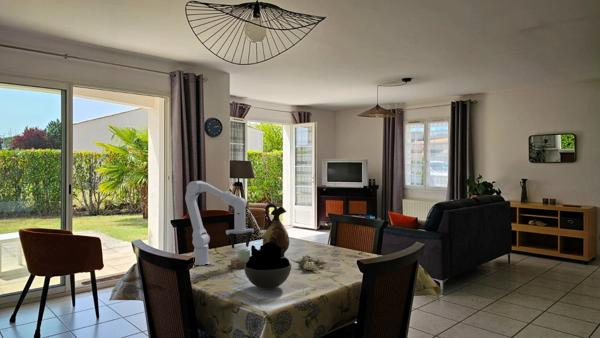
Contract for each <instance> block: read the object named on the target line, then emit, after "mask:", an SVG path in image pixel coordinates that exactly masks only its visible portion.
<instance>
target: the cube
mask: <svg viewBox="0 0 600 338" xmlns="http://www.w3.org/2000/svg"><path fill="white" fill-rule="evenodd" d="M250 256H251V249H248V248H243V249H237V258H238V260H240V261H248V260H249V258H250Z"/></svg>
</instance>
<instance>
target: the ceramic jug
mask: <svg viewBox="0 0 600 338" xmlns="http://www.w3.org/2000/svg"><path fill="white" fill-rule="evenodd" d="M270 208H273V209H272V211H271V212H270V214H269V209H270ZM264 211H265V216H266V219H267V225H266V230H265V232H264V234H263V237H262V245H264V244H265V243H268V242H270V243H273V244H275V245H277V246H280V247H281V252H280V253H281V257H280V258H284V257H285V253H286V252H288V251H287V250H288V249H289V247H290V236H289V234H288V231H287V229H286V228H285V226H284V224H283V223H282V221H281V219H280V216H281V215H283V214H285V213H287V210H286V209H285V208H284V207H283V206H282V205H281V206H279V207H277V205H276V204H274V203H267V204H266V206H265V208H264ZM270 215H272V216H273V217H272V219H271V216H270Z"/></svg>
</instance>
